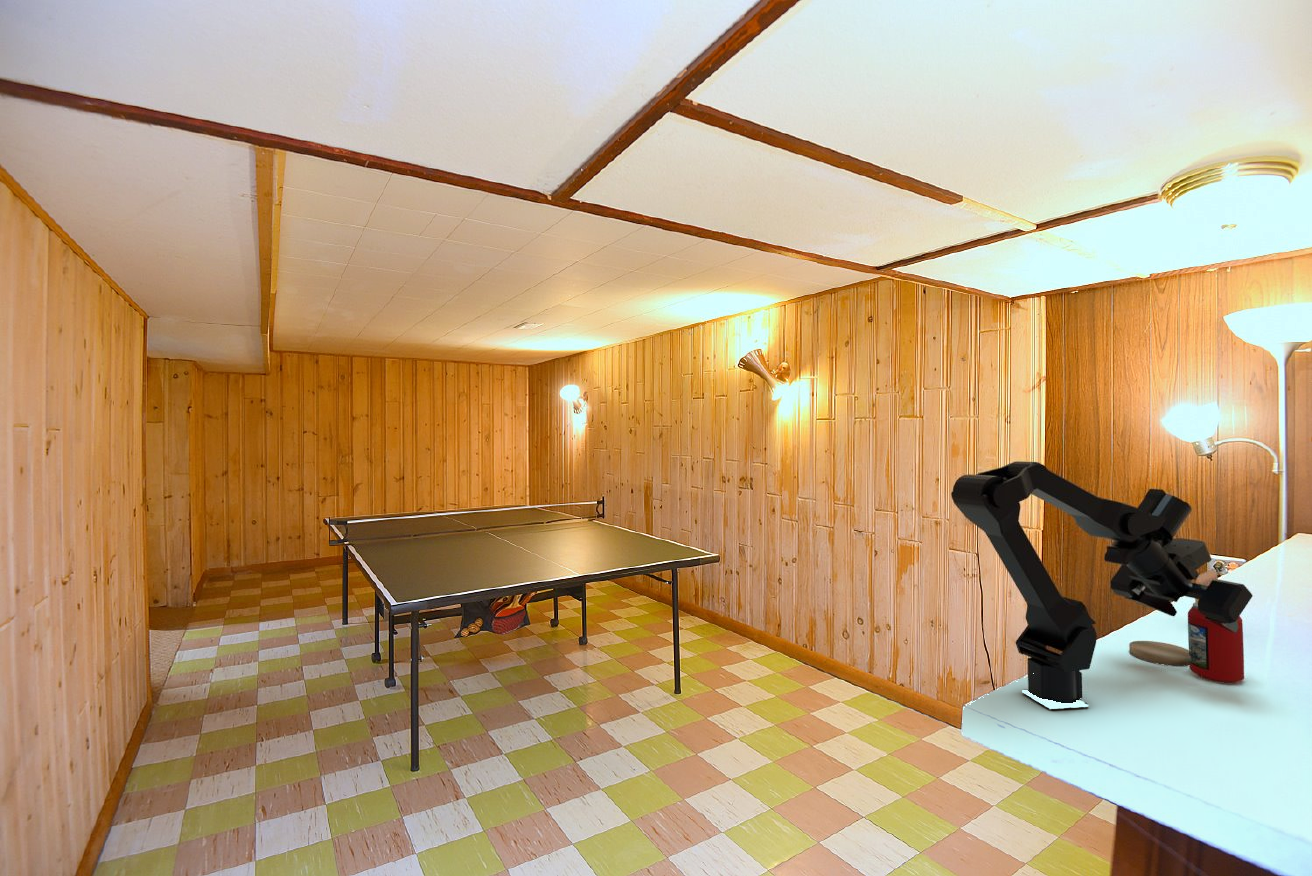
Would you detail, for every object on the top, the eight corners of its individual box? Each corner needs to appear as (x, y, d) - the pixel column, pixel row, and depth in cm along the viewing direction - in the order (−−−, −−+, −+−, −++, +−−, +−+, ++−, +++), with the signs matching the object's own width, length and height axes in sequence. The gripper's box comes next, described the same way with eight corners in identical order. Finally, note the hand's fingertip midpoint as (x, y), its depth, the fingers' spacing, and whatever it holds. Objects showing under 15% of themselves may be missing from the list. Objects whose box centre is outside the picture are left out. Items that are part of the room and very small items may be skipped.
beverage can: (1188, 667, 105) (1185, 599, 105) (1241, 676, 100) (1239, 604, 100) (1190, 679, 99) (1188, 608, 99) (1247, 689, 95) (1244, 614, 95)
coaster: (1185, 670, 103) (1184, 661, 103) (1122, 655, 111) (1121, 647, 111) (1200, 658, 108) (1199, 650, 108) (1138, 645, 116) (1138, 637, 116)
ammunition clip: (1206, 634, 121) (1204, 575, 121) (1194, 632, 122) (1192, 574, 123) (1222, 624, 127) (1220, 568, 127) (1211, 622, 128) (1209, 567, 128)
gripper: (1240, 532, 89) (1298, 599, 91) (1119, 517, 108) (1170, 573, 110) (1201, 588, 88) (1261, 655, 90) (1085, 564, 106) (1138, 620, 108)
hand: (1203, 621), depth 99 cm, fingers open, 9 cm apart
